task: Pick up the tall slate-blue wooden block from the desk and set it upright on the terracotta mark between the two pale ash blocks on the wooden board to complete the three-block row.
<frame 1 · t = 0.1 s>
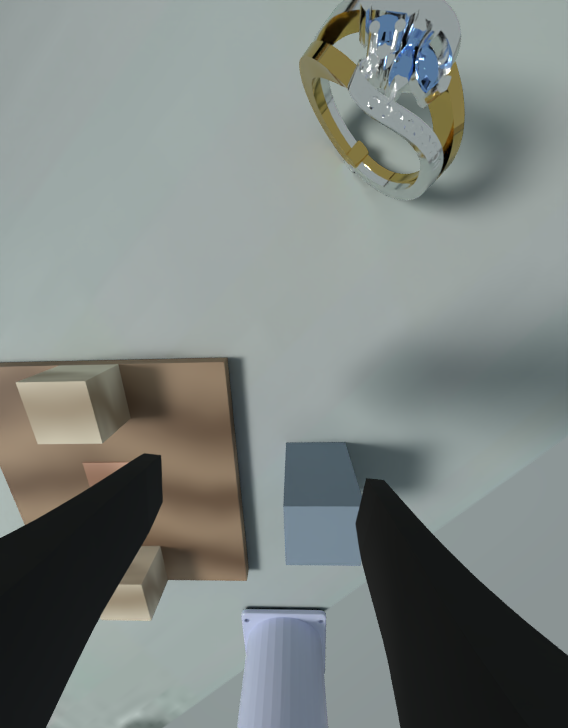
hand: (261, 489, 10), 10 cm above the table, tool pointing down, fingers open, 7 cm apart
slate block: (315, 466, 21), on the table
ring: (352, 162, 15), on the table
wooden board: (128, 478, 22), on the table
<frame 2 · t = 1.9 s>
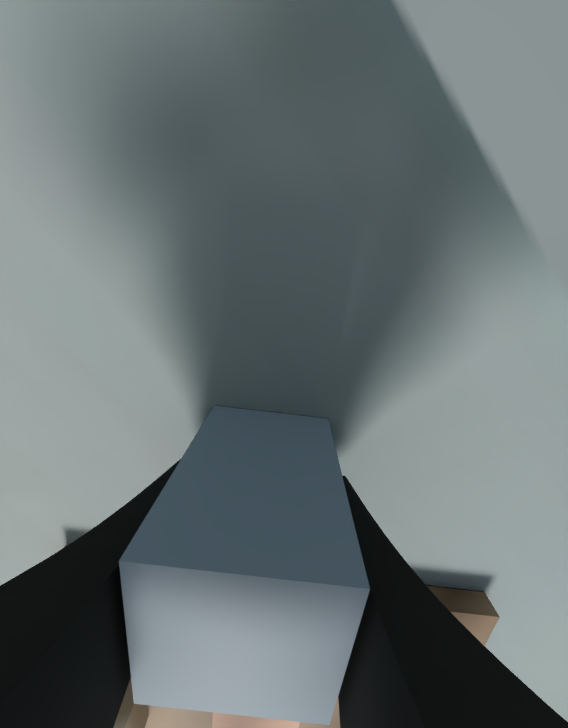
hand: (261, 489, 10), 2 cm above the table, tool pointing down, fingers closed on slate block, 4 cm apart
slate block: (265, 460, 11), on the table, touching gripper
wooden board: (259, 680, 16), on the table
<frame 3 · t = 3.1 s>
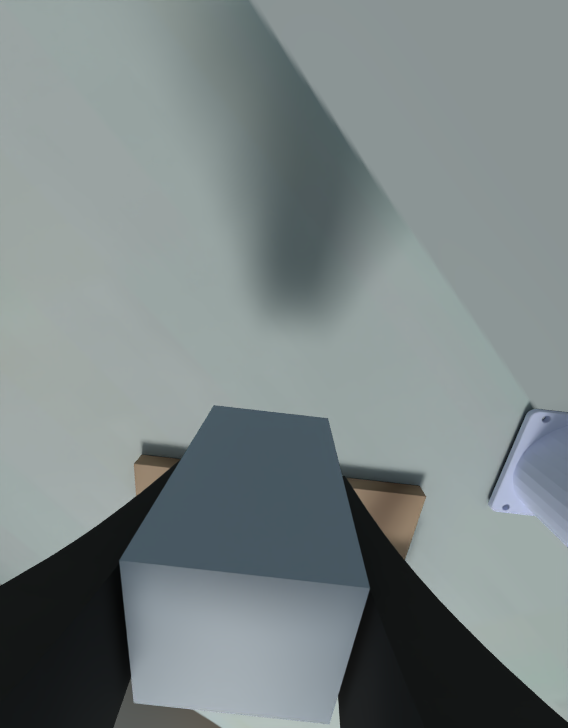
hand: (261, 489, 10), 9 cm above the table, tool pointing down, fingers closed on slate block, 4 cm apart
slate block: (265, 459, 11), point 7 cm above the table, touching gripper
wooden board: (269, 561, 22), on the table
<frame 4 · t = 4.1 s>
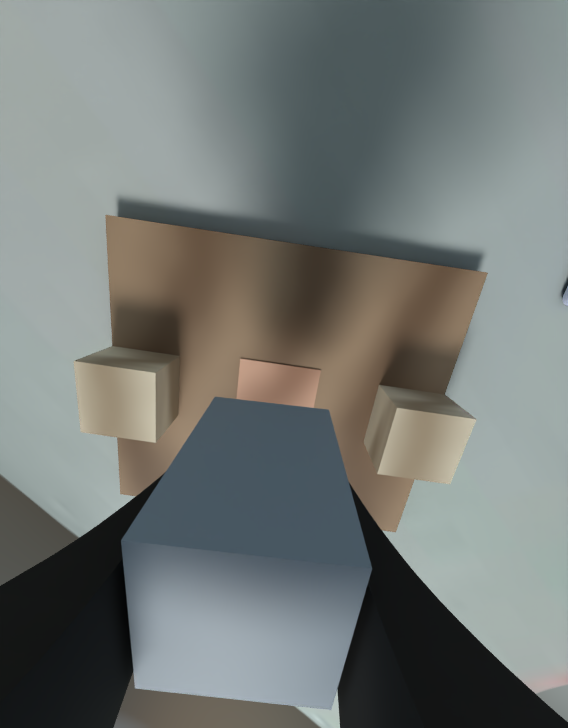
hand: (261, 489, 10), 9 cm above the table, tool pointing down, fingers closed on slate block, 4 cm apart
slate block: (266, 451, 11), point 7 cm above the table, touching gripper
wooden board: (276, 394, 18), on the table
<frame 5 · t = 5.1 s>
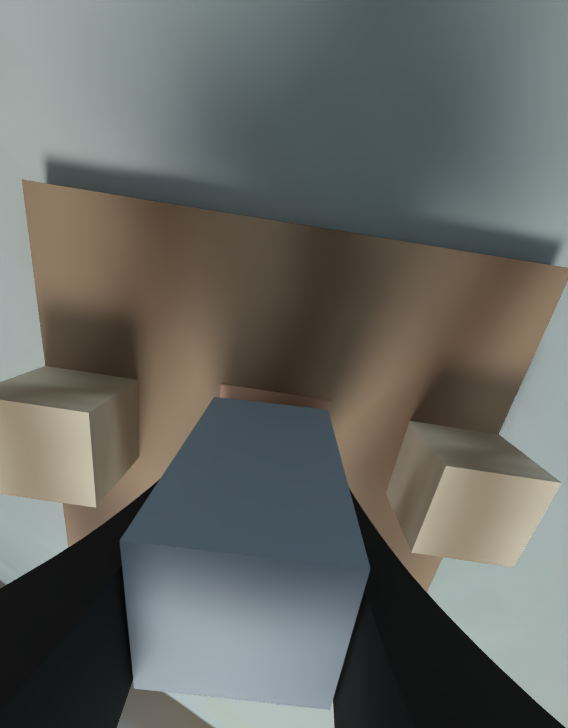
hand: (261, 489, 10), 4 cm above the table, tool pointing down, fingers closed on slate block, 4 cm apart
slate block: (266, 451, 11), point 2 cm above the table, touching gripper
wooden board: (270, 428, 13), on the table
when the fingers open (4 cm above the table, at t = 5.4 s): slate block drops 1 cm, resting on wooden board.
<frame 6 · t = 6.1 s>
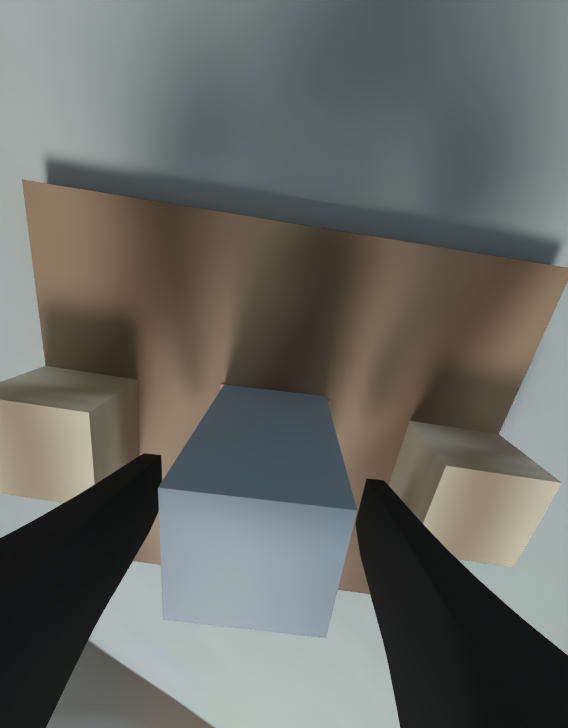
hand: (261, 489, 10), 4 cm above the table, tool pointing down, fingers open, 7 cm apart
slate block: (270, 434, 12), point 1 cm above the table, touching wooden board
wooden board: (270, 428, 13), on the table
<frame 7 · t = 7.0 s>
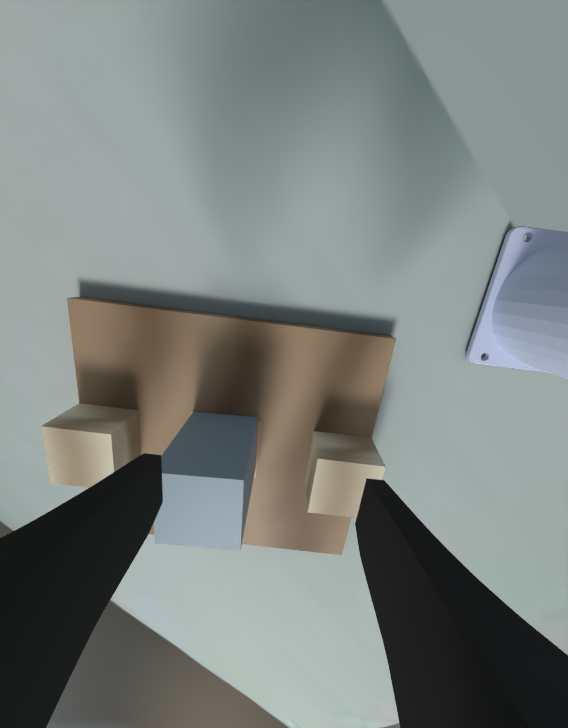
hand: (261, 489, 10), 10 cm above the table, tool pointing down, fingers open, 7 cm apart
slate block: (225, 442, 19), point 1 cm above the table, touching wooden board
wooden board: (228, 437, 20), on the table
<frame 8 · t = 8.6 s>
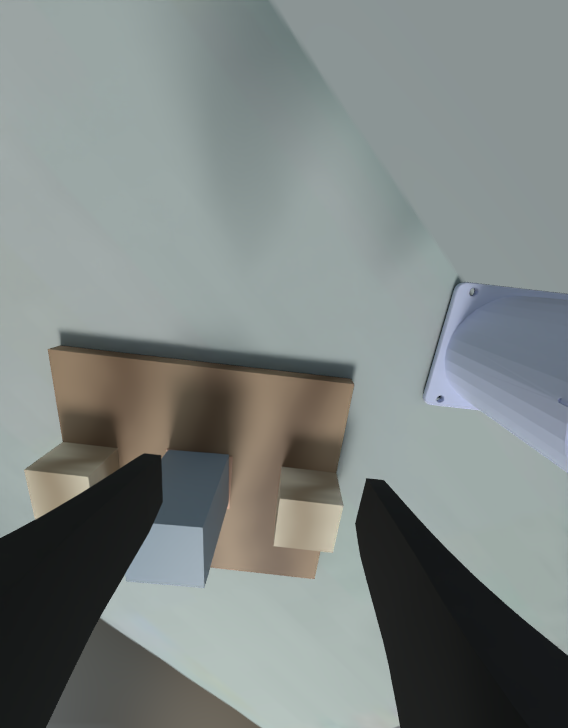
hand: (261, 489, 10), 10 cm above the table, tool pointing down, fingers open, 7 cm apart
slate block: (199, 477, 20), point 1 cm above the table, touching wooden board
wooden board: (203, 470, 21), on the table
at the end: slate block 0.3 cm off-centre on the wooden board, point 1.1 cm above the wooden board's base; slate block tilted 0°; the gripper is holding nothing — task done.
